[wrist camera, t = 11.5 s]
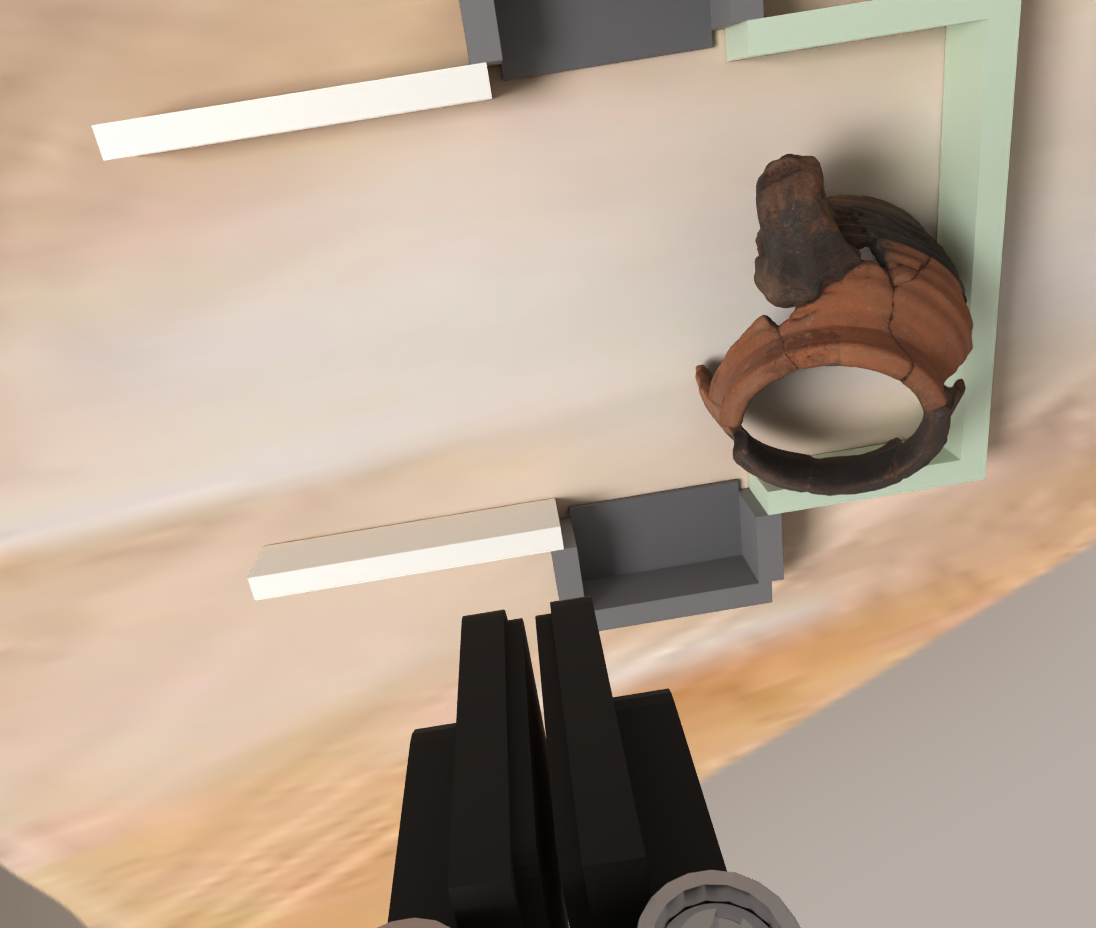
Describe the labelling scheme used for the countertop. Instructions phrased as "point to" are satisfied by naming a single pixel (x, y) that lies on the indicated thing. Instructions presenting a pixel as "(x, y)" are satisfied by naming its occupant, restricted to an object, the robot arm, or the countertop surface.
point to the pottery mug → (843, 325)
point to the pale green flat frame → (699, 511)
